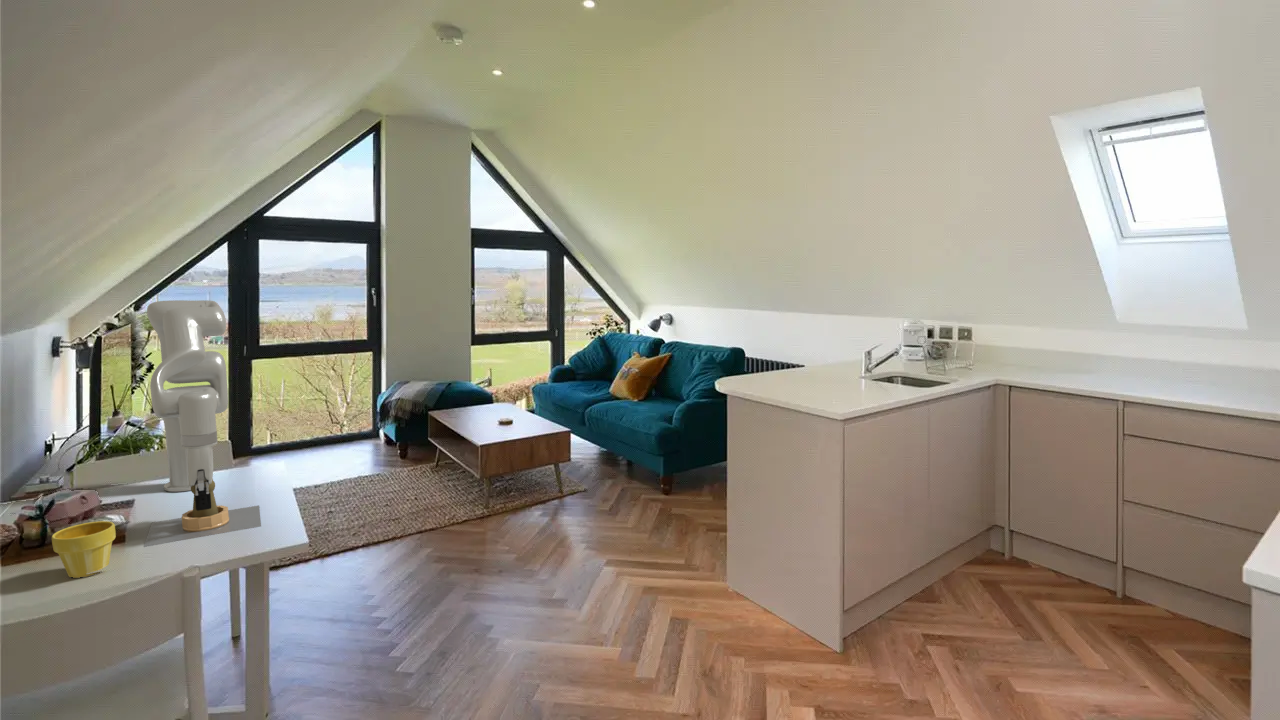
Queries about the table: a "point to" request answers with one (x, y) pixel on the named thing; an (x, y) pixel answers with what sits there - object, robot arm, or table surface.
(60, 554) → the plant pot
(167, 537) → the slate board
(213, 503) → the cork
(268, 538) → the table surface
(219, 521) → the tan shallow bowl
